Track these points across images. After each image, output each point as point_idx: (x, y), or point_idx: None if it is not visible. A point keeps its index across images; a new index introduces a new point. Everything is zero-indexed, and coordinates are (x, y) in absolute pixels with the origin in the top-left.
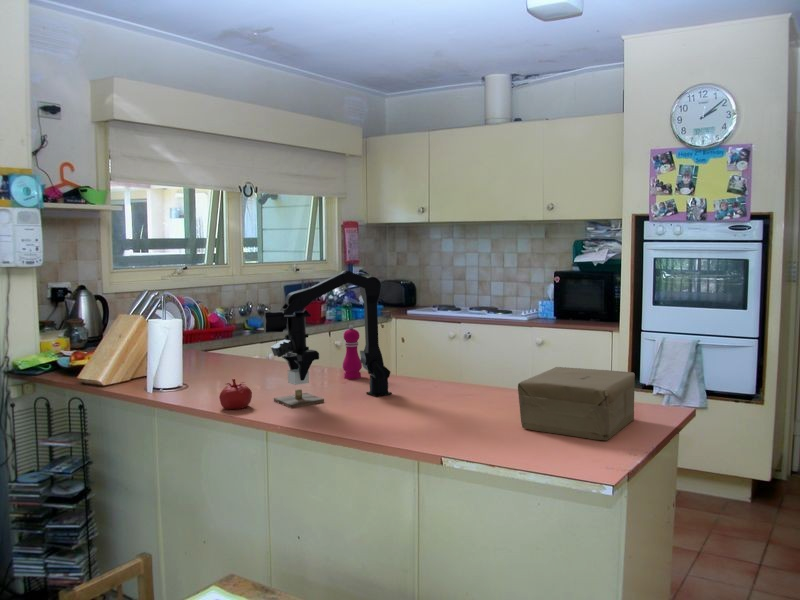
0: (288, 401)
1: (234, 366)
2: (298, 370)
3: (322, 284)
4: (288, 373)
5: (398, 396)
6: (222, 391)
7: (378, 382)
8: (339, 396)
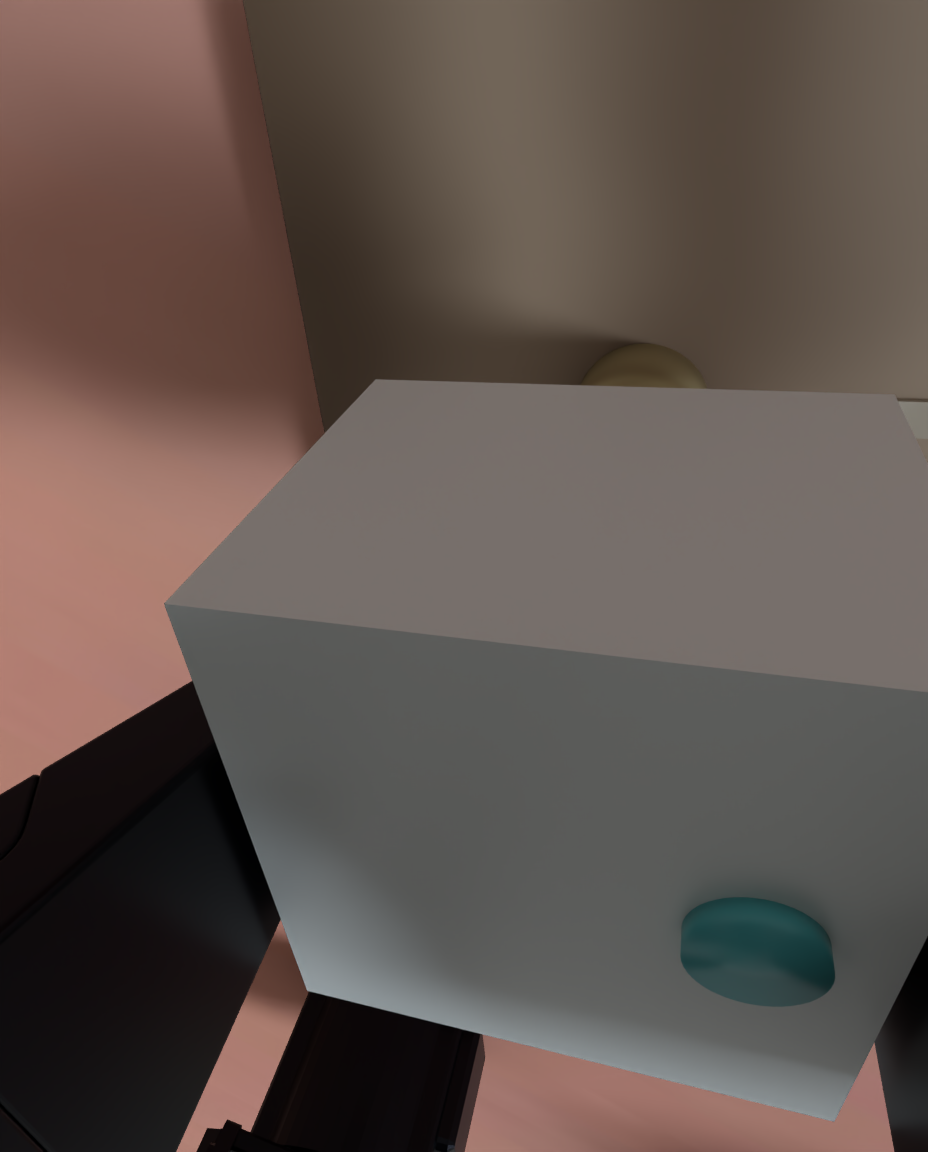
0: (553, 106)
1: None
2: (530, 902)
3: None
4: (875, 582)
5: (262, 998)
6: None
7: (284, 1092)
8: None
